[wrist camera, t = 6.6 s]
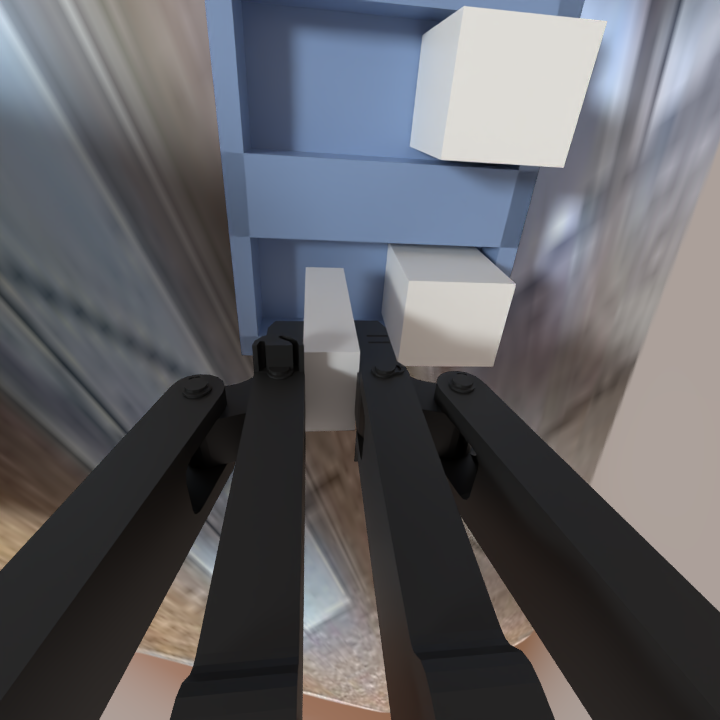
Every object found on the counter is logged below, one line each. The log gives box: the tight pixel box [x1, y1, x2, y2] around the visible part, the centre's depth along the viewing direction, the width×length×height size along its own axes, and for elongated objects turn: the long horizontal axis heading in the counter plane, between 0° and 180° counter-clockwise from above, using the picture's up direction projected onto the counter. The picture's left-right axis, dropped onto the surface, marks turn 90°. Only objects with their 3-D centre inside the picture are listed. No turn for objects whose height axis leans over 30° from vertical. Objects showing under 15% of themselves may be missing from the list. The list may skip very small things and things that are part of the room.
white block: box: [381, 243, 516, 367], centre depth 18 cm, size 4×4×5 cm
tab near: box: [410, 6, 607, 168], centre depth 14 cm, size 4×4×5 cm
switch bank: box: [205, 0, 585, 355], centre depth 17 cm, size 12×14×3 cm
